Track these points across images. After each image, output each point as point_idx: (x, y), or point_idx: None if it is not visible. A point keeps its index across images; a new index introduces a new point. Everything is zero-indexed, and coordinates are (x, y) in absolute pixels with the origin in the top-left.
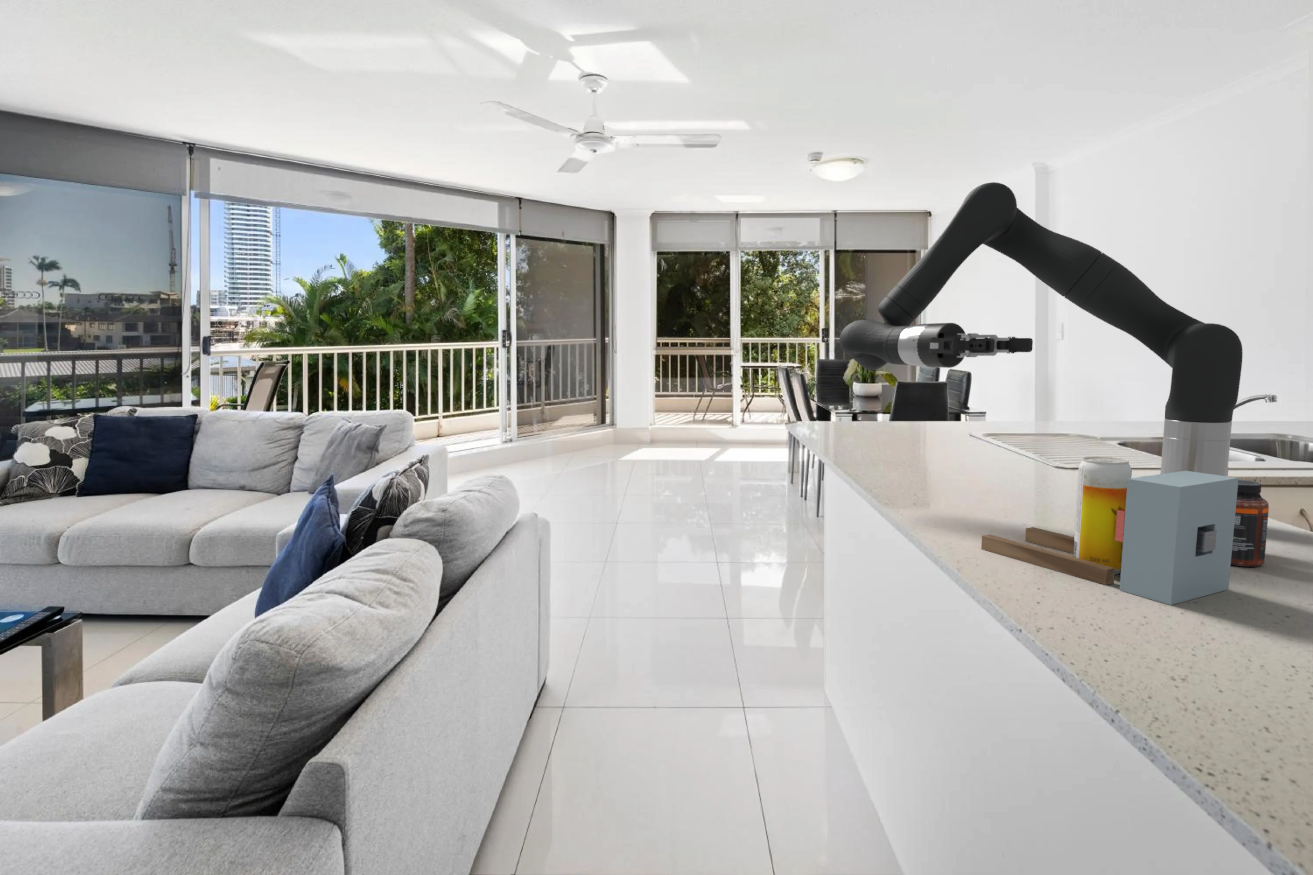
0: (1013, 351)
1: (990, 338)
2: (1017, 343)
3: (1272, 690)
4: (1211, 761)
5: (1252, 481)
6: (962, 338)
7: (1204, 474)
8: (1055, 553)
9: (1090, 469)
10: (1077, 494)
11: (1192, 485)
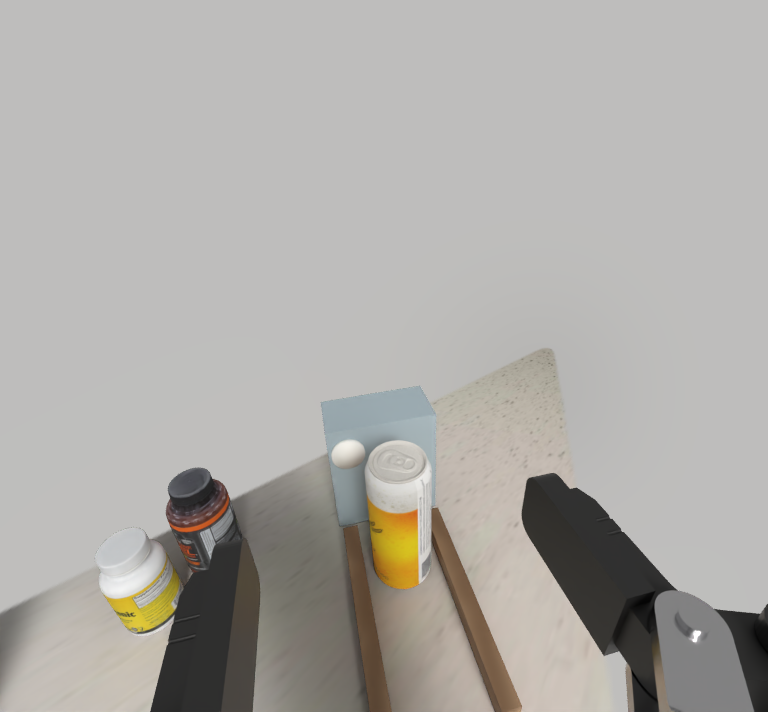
0: (252, 705)
1: (551, 475)
2: (240, 642)
3: (470, 391)
4: (543, 366)
5: (175, 480)
6: (743, 682)
7: (331, 417)
8: (454, 571)
9: (429, 462)
10: (427, 512)
11: (400, 389)
